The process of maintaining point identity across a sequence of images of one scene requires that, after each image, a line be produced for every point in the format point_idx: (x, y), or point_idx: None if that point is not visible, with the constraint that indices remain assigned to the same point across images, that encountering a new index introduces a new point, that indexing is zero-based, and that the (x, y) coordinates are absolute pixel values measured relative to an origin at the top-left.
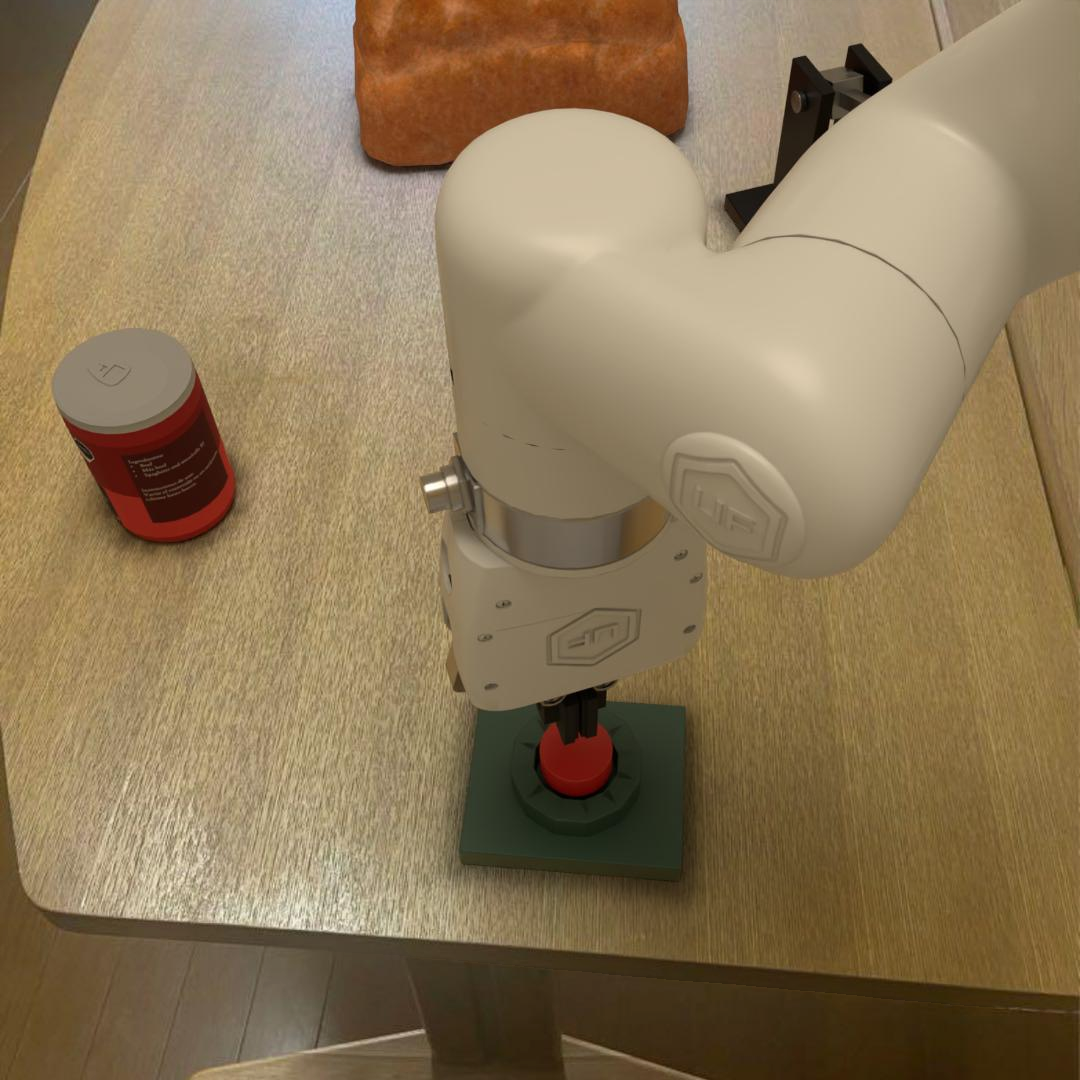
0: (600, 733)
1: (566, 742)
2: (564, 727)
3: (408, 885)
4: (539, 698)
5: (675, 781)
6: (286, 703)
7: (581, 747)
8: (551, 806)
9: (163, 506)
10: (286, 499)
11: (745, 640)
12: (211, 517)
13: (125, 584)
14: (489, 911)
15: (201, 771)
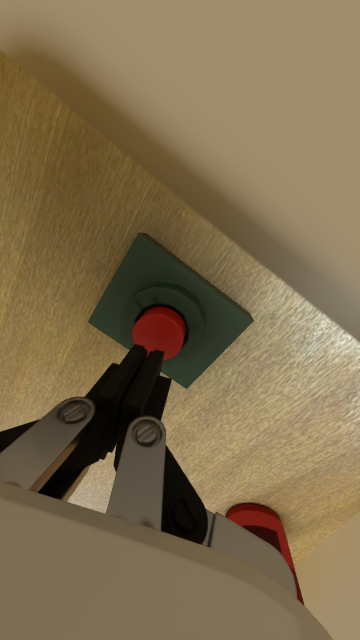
0: (136, 338)
1: (161, 354)
2: (156, 372)
3: (283, 319)
4: (172, 592)
5: (114, 285)
6: (272, 429)
7: (153, 337)
8: (192, 313)
9: (273, 545)
10: (211, 496)
11: (47, 334)
12: (248, 513)
13: (297, 504)
14: (253, 280)
15: (331, 425)
